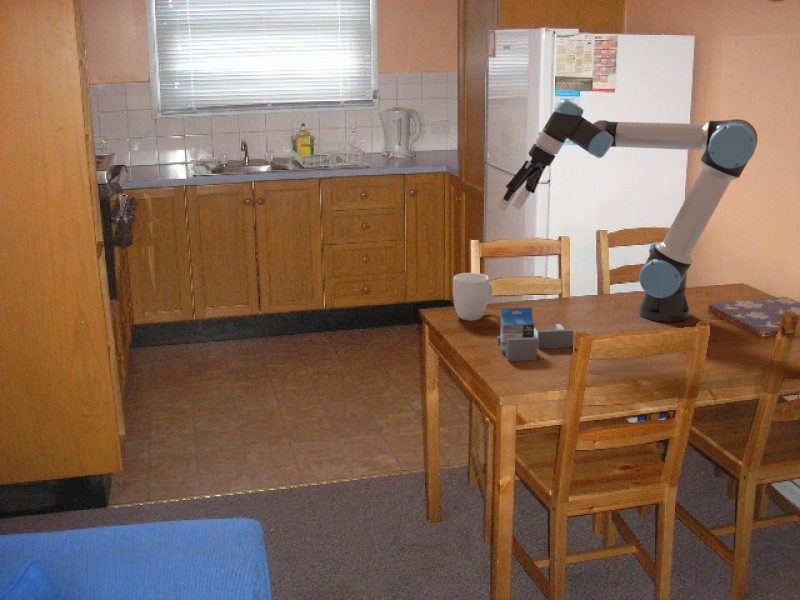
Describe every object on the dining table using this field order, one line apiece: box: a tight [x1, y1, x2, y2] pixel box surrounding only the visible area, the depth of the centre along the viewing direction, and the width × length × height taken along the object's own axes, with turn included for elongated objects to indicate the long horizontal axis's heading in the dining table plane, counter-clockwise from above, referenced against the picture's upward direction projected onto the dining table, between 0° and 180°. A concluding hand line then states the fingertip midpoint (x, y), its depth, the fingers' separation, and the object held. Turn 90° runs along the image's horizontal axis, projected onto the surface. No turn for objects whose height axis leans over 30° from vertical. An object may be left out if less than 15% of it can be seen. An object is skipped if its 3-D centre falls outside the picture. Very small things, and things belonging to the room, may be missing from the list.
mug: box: [452, 272, 493, 322], centre depth 282 cm, size 15×11×13 cm
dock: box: [534, 323, 574, 350], centre depth 261 cm, size 10×14×5 cm
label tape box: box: [499, 307, 535, 354], centre depth 251 cm, size 9×4×12 cm, turn 92°
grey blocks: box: [496, 335, 538, 362], centre depth 252 cm, size 8×15×6 cm, turn 5°
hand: (508, 208), depth 278 cm, fingers open, 13 cm apart
